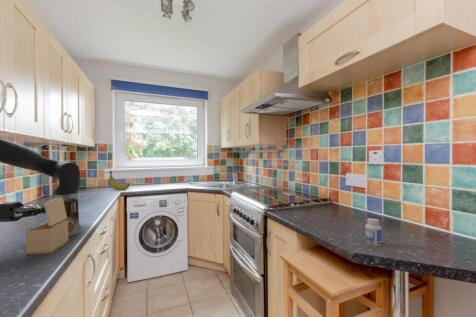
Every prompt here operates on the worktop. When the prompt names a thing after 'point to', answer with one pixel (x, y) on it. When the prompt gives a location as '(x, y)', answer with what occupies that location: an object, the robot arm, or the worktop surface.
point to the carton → (46, 238)
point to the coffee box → (72, 215)
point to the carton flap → (55, 211)
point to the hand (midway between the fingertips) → (54, 209)
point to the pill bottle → (373, 232)
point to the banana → (115, 184)
